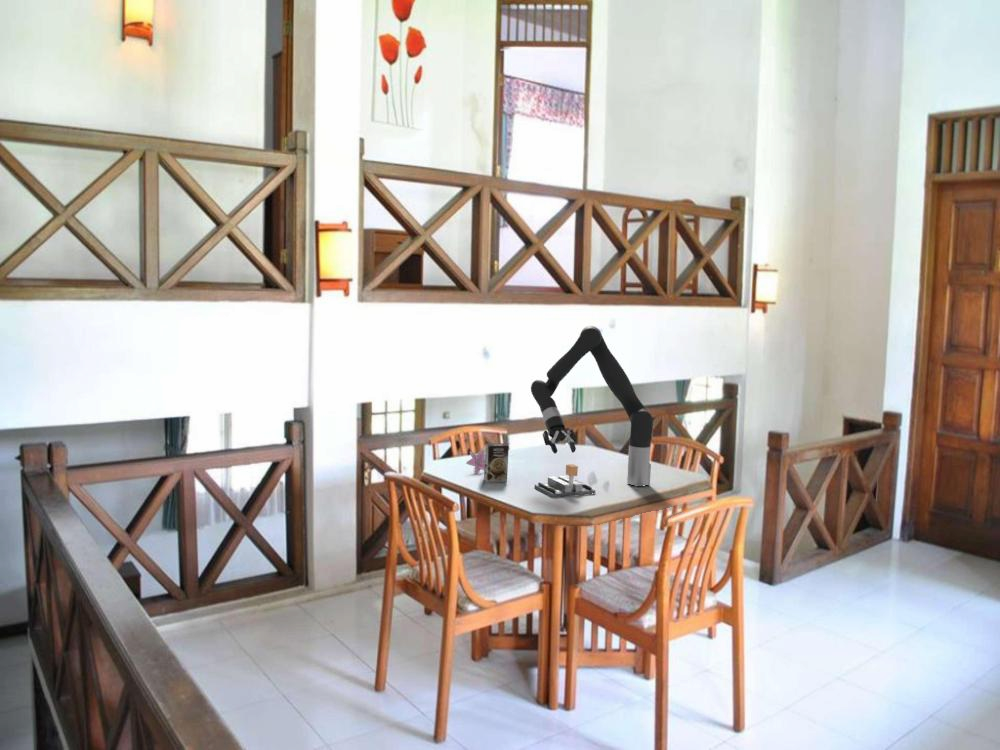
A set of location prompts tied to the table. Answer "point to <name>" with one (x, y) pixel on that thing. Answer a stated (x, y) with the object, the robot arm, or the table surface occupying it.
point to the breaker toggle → (571, 472)
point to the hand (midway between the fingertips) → (565, 452)
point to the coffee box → (496, 462)
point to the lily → (477, 461)
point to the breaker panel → (559, 494)
